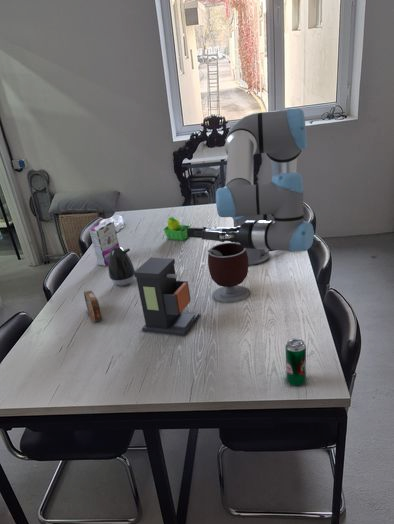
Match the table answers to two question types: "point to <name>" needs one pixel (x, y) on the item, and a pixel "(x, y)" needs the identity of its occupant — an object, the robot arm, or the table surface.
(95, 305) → the tin
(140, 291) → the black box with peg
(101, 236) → the candy bar box
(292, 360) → the soda can
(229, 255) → the mate gourd
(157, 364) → the table surface
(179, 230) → the fruit basket
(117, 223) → the knuckle duster
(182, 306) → the push plate
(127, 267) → the pump dispenser
